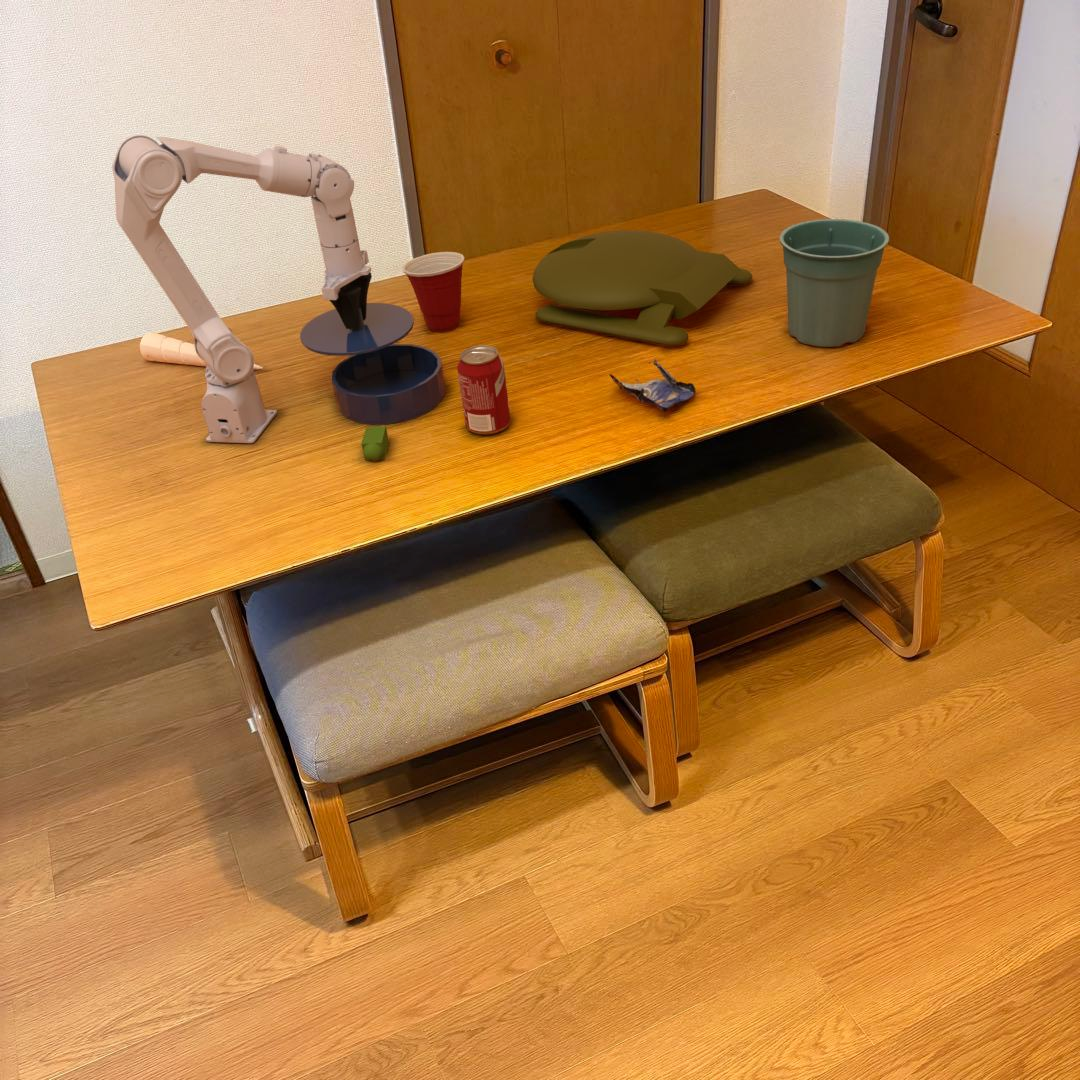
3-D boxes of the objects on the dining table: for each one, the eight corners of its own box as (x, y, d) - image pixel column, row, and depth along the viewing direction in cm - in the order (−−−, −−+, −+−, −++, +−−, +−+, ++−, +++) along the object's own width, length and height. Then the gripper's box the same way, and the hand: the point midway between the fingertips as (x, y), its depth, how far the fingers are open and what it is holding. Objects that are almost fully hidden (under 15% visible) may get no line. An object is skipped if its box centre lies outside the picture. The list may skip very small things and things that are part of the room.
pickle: (383, 463, 157) (380, 447, 155) (363, 465, 157) (359, 448, 156) (390, 437, 163) (387, 421, 161) (370, 438, 163) (367, 422, 161)
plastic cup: (446, 306, 199) (436, 243, 192) (485, 321, 193) (477, 256, 186) (400, 328, 194) (388, 264, 186) (439, 344, 187) (428, 278, 180)
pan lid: (393, 360, 164) (388, 334, 161) (283, 358, 168) (277, 332, 165) (428, 309, 178) (424, 284, 175) (326, 308, 182) (320, 284, 179)
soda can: (494, 441, 159) (485, 368, 152) (457, 432, 162) (446, 359, 155) (519, 420, 164) (511, 347, 157) (482, 411, 167) (473, 340, 160)
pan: (427, 426, 165) (422, 397, 162) (321, 423, 168) (315, 394, 165) (457, 372, 178) (453, 344, 175) (359, 370, 182) (353, 343, 179)
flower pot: (826, 301, 187) (833, 209, 178) (901, 332, 175) (912, 235, 166) (754, 331, 180) (757, 237, 171) (826, 365, 169) (834, 266, 159)
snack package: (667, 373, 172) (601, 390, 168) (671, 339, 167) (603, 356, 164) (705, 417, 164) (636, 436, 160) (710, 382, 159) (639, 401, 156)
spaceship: (757, 280, 196) (758, 227, 191) (680, 353, 176) (679, 296, 171) (589, 255, 213) (586, 205, 207) (502, 318, 193) (495, 266, 187)
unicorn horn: (250, 381, 182) (243, 355, 179) (142, 364, 191) (133, 339, 188) (267, 368, 185) (260, 342, 182) (160, 352, 194) (151, 327, 192)
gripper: (347, 259, 157) (364, 345, 165) (379, 222, 169) (394, 304, 177) (301, 259, 159) (321, 344, 167) (337, 223, 170) (353, 304, 178)
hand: (356, 323), depth 172 cm, fingers closed on pan lid, 2 cm apart
